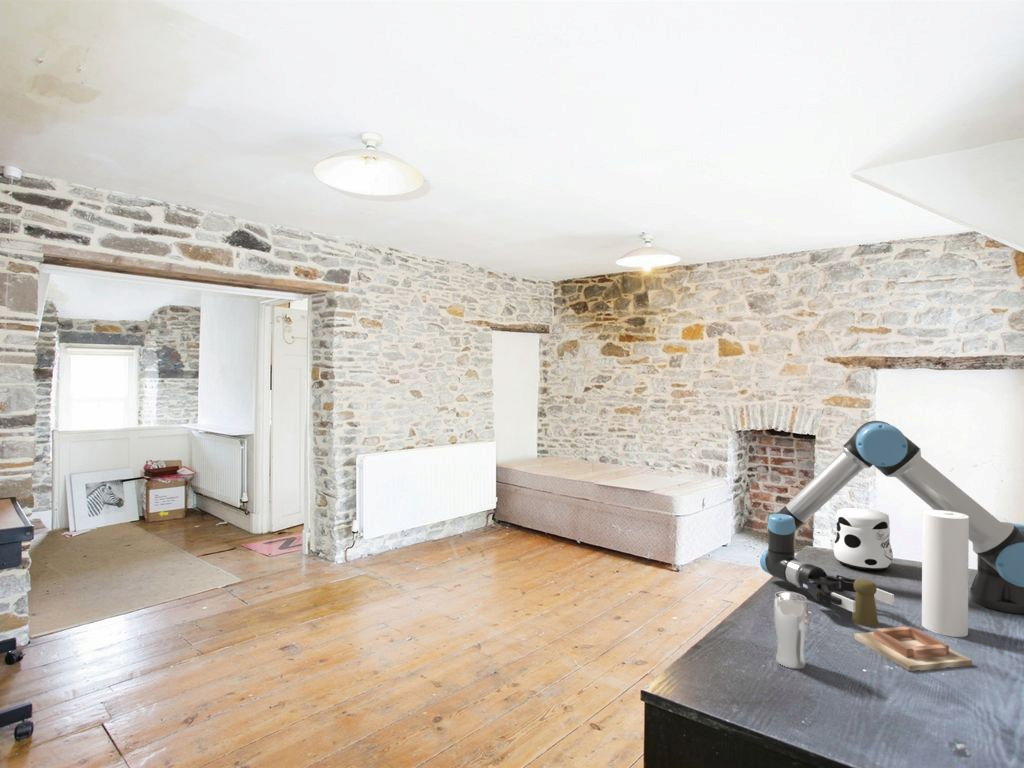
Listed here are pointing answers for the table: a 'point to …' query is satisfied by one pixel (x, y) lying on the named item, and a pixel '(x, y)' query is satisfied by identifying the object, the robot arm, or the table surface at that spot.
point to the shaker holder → (912, 648)
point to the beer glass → (790, 628)
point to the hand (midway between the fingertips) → (874, 603)
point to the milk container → (863, 539)
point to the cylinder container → (945, 572)
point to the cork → (865, 603)
